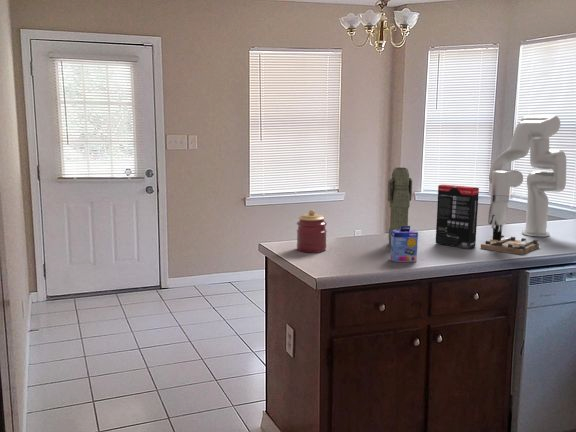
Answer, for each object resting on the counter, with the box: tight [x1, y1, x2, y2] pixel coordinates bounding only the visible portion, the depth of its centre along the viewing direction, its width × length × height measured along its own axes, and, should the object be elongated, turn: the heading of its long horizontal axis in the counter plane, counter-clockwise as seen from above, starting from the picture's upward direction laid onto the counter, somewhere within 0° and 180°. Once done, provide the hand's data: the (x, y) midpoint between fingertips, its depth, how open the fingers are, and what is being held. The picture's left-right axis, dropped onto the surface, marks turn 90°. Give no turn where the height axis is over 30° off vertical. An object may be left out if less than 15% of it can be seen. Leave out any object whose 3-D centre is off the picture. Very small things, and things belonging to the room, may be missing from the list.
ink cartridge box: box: [389, 225, 419, 263], centre depth 226 cm, size 10×6×14 cm, turn 95°
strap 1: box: [489, 236, 511, 243], centre depth 253 cm, size 16×3×1 cm, turn 137°
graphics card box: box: [435, 184, 480, 250], centre depth 253 cm, size 17×7×27 cm, turn 47°
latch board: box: [480, 234, 540, 256], centre depth 250 cm, size 20×18×4 cm
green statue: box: [387, 167, 413, 246], centre depth 254 cm, size 9×12×35 cm
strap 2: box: [512, 239, 533, 247], centre depth 247 cm, size 16×3×1 cm, turn 137°
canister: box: [296, 209, 328, 253], centre depth 245 cm, size 13×13×18 cm
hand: (496, 240), depth 250 cm, fingers closed
